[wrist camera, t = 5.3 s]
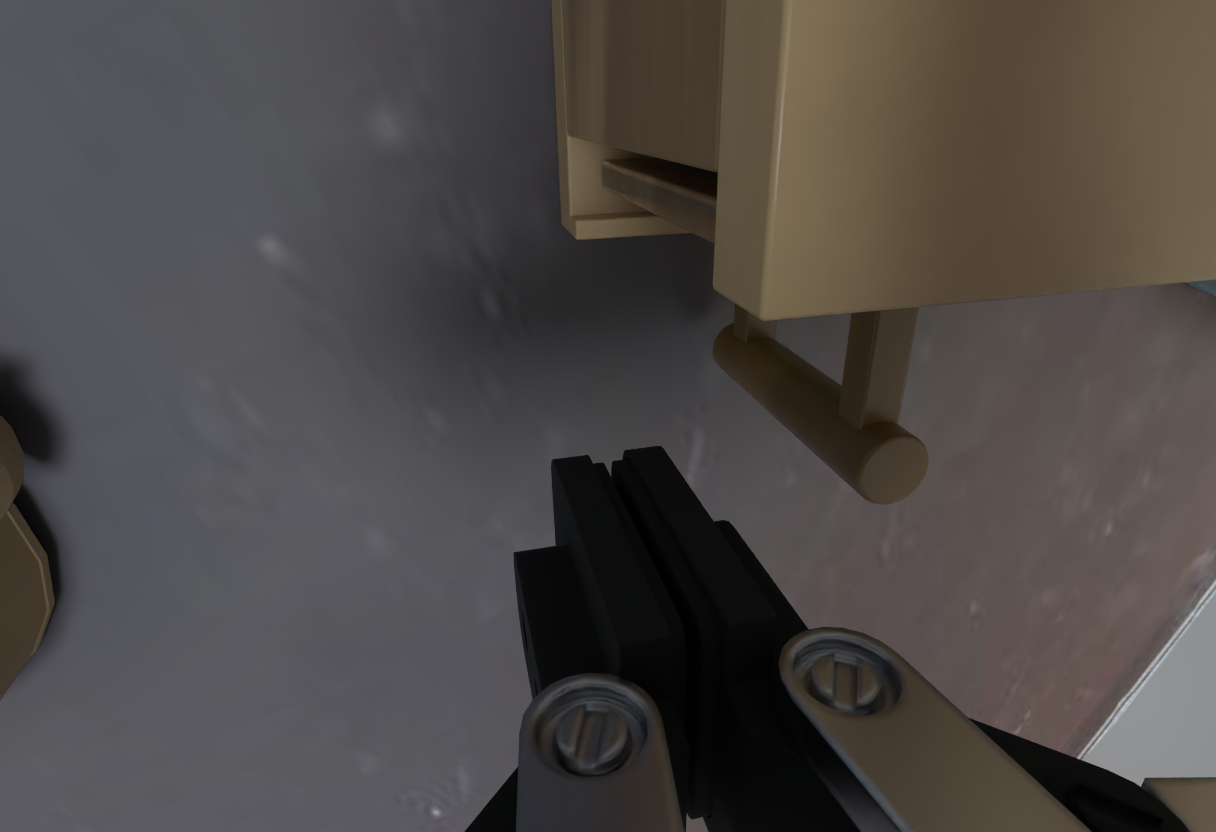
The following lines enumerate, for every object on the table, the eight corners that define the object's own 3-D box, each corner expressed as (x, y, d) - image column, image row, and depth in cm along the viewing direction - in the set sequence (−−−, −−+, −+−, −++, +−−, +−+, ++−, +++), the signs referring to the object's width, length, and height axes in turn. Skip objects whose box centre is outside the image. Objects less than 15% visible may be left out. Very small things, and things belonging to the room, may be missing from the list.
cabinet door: (899, 148, 19) (1271, 184, 11) (871, 334, 21) (1160, 486, 13) (601, 160, 17) (763, 214, 9) (605, 361, 19) (738, 556, 11)
